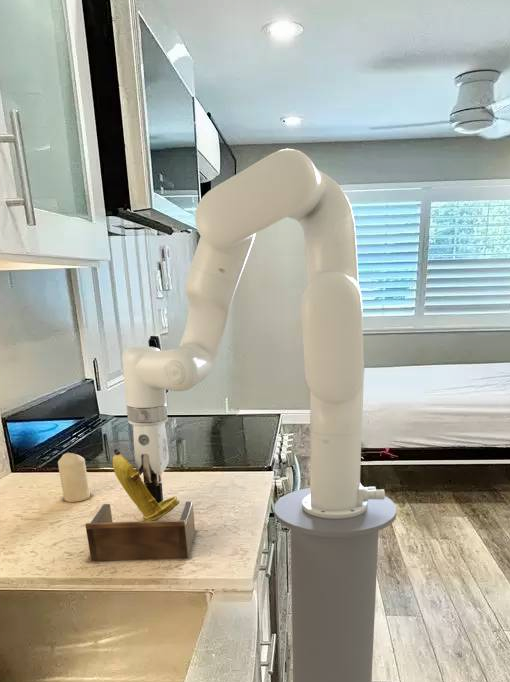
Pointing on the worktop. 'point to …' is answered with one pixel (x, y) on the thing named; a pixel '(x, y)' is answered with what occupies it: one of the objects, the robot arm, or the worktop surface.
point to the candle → (73, 477)
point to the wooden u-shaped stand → (140, 537)
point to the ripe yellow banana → (140, 490)
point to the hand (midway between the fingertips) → (154, 502)
